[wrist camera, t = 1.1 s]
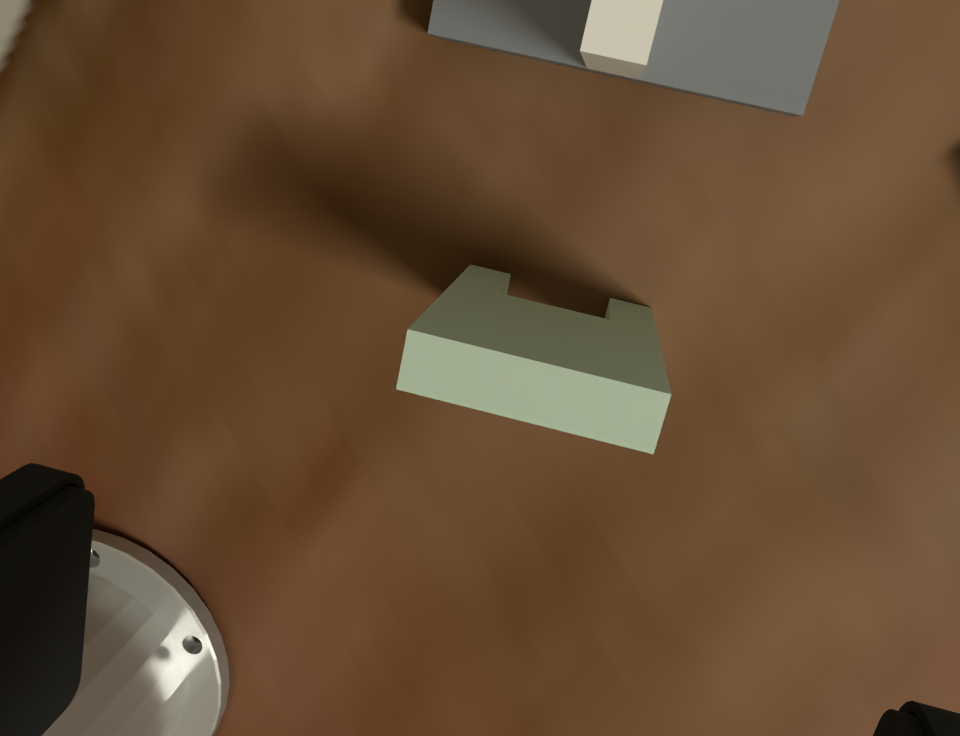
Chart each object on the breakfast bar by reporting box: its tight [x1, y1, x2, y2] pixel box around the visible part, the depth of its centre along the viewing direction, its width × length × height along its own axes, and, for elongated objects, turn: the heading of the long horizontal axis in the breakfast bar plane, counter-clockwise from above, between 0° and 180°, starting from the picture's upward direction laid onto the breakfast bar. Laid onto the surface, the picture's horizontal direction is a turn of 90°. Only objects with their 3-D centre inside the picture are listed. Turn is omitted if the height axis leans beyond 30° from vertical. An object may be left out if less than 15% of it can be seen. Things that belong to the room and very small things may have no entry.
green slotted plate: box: [396, 264, 671, 454], centre depth 26 cm, size 7×2×10 cm, turn 78°
